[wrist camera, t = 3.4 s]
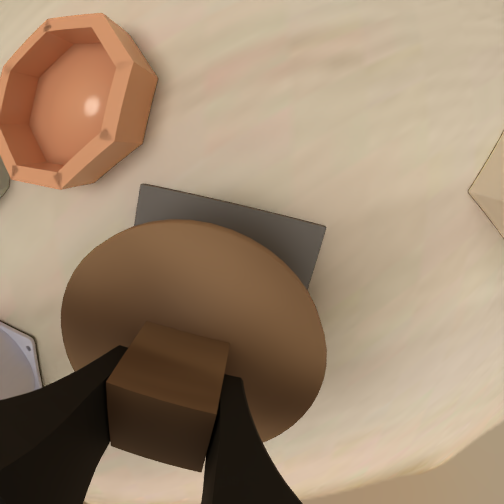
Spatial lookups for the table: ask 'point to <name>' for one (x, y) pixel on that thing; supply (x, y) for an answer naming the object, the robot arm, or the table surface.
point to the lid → (192, 335)
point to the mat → (238, 224)
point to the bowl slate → (3, 178)
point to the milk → (492, 187)
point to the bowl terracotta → (73, 102)
